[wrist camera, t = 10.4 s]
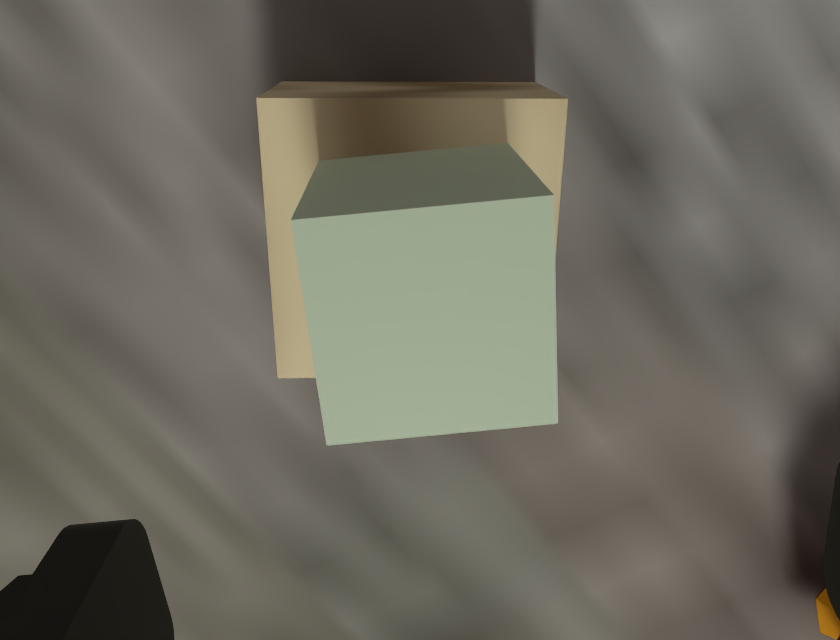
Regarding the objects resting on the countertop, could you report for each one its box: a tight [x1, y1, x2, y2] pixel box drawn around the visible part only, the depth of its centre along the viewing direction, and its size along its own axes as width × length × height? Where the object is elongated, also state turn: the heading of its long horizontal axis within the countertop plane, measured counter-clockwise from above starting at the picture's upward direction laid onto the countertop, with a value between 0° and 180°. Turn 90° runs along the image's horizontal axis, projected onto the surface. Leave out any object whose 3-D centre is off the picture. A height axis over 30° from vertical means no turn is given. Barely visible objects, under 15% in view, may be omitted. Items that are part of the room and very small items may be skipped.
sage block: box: [291, 143, 558, 445], centre depth 18 cm, size 5×5×6 cm
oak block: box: [256, 81, 568, 378], centre depth 23 cm, size 8×8×5 cm
